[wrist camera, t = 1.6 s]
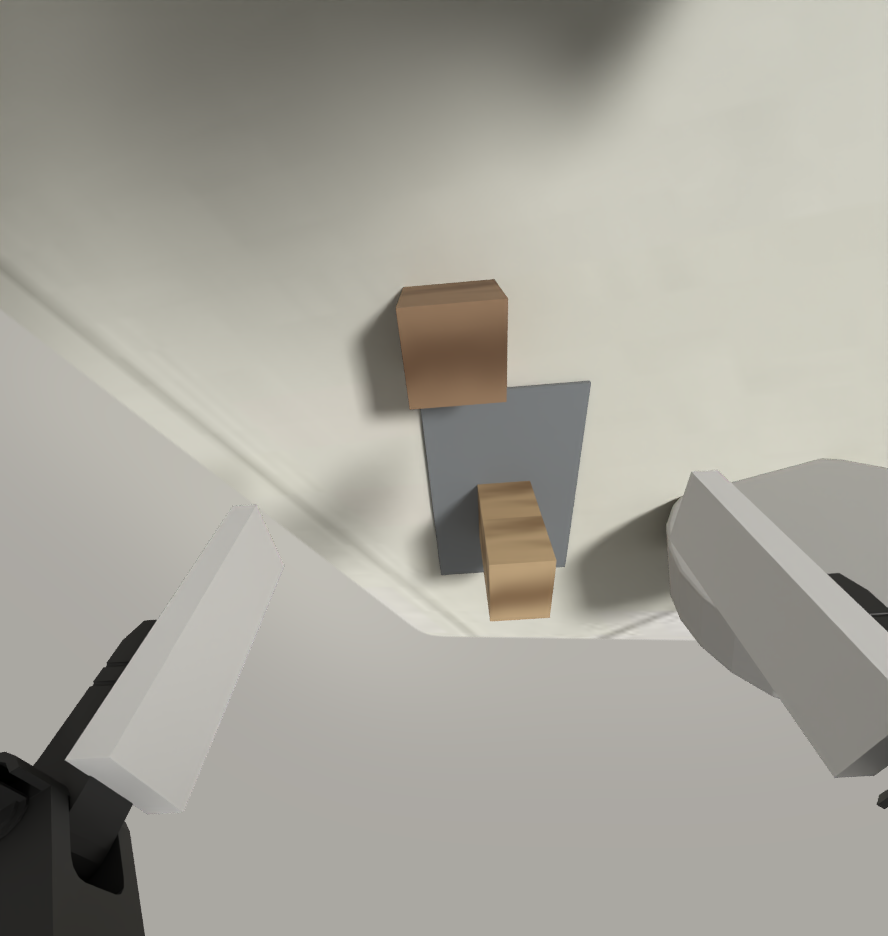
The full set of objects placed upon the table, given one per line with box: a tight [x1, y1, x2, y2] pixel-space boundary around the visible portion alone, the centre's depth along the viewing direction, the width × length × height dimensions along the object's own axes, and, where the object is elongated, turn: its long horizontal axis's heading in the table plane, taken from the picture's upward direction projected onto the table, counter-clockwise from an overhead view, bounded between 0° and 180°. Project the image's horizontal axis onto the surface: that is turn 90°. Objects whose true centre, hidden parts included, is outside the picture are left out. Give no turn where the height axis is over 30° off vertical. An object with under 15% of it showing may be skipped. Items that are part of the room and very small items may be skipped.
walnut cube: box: [396, 279, 508, 410], centre depth 27 cm, size 6×6×6 cm
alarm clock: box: [666, 459, 888, 699], centre depth 32 cm, size 21×8×20 cm, turn 110°
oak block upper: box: [483, 516, 557, 621], centre depth 33 cm, size 7×5×5 cm
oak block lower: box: [478, 481, 542, 569], centre depth 38 cm, size 7×5×5 cm
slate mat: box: [421, 381, 591, 575], centre depth 39 cm, size 22×14×1 cm, turn 4°
